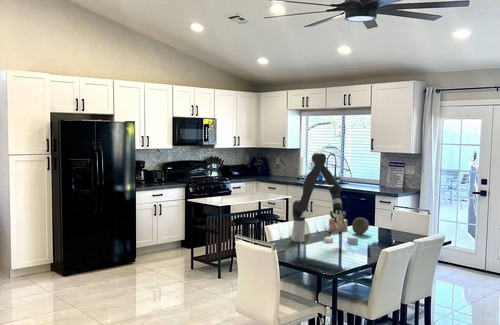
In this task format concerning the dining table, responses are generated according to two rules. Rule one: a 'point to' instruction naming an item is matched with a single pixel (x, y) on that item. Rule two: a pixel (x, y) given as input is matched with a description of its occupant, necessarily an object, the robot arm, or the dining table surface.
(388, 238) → the dining table surface
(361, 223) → the cantaloupe
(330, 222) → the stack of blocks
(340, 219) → the oak block
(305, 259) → the dining table surface
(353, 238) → the blue base block
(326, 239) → the cream block
